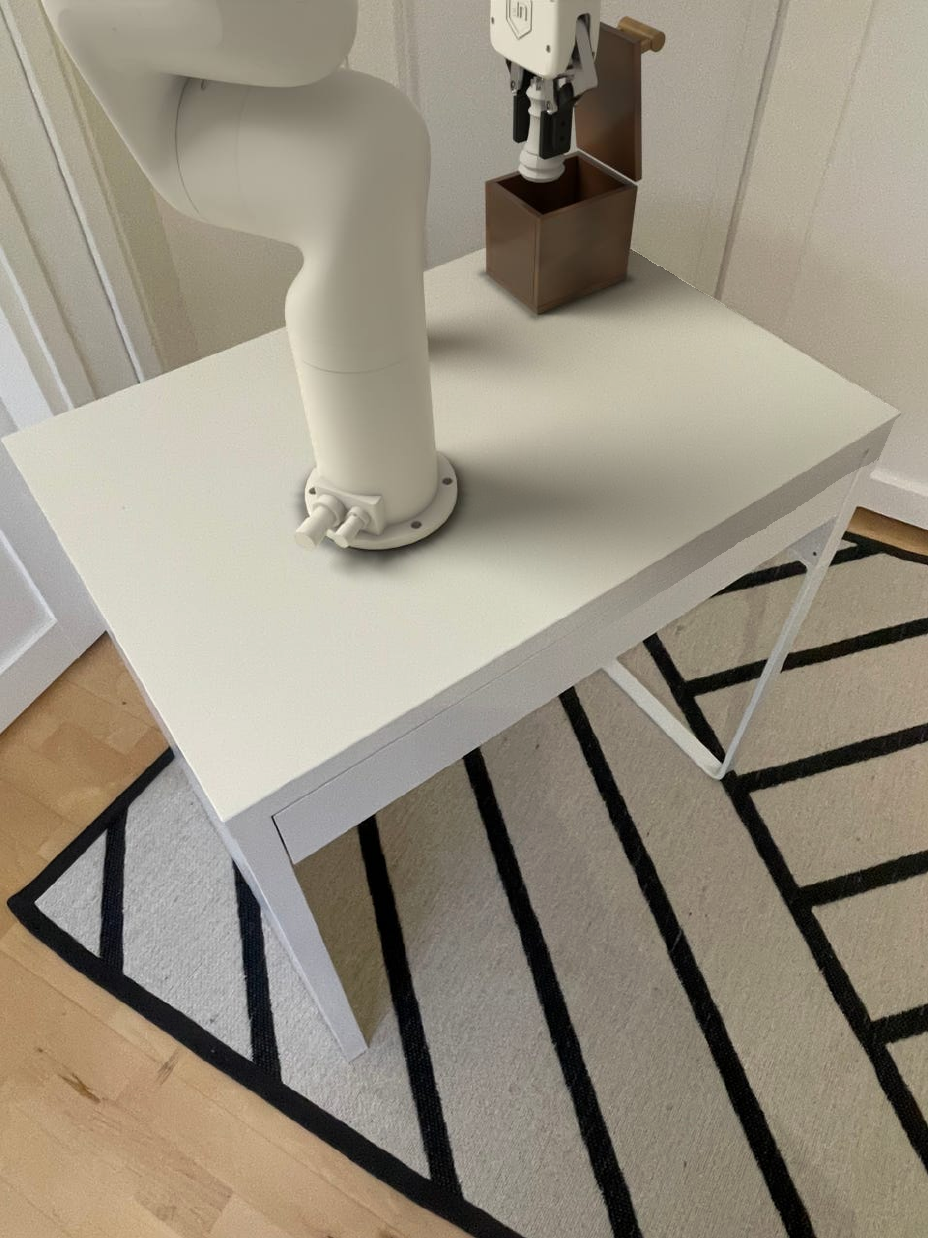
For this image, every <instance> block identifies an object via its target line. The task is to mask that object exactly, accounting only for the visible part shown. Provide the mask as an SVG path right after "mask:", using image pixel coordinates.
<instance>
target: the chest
mask: <svg viewBox="0 0 928 1238" xmlns="http://www.w3.org/2000/svg"><path fill="white" fill-rule="evenodd" d="M564 156H565V158H564V162H563V165H564V166H565V169H564V172H563V173H562V174H561V176H560V177H559V178H558V179H556V180H553V181H550V182H533V181H529V180H527V179H525V178H524V177H523V176H522V174H521V173H520V171H519V170H515V171H513V172H510V173H507V174H504V175H501V176H497V177H494V178H492V179H491V178H490V179H489V180H485V182H484V193H485V194H484V197H485V198H484V201H485V203H484V205H485V273H486V275H487V276H489V278H491V279H492V280H494V281H495V282H496V283H497V284H499V285H500V286H501V287H502V288H503V289H505V290H506V291H507V292H508V293H510V294H511V295H512V296H514V298H516V299H517V300H518V301H520V302H521V303H522V304H523V305H525V306H526V307H527V308H528V309H530V310H531V311H532V312H533V313H535V314H536V315H539V314H542V313H545V312H547V311H550V310H552V309H555V308H558V307H560V306H563V305H565V304H568V303H570V302H573V301H575V300H577V299H580V298H583V297H585V296H588V295H591V294H593V293H595V292H598V291H600V290H603V289H605V288H608V287H610V286H613V285H615V284H618V283H621V282H622V281H625V280H627V277H628V268H629V261H630V253H631V246H632V238H633V228H634V222H635V214H636V207H637V206H636V205H637V197H638V190H639V189H638V188H639V186H638V185H637V184H635V182H633V181H632V180H630V179H628V178H627V177H625V176H623V175H622V174H620V173H618V172H617V171H615V170H612V168H610V167H608V166H607V165H605V164H602V162H600V161H598V160H597V159H595V158H593V157H592V156H590V155H588V154H587V153H585V152H583V151H581V150H577V151H573V152H570V153H566V154H564Z"/></svg>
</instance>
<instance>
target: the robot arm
mask: <svg viewBox="0 0 928 1238" xmlns="http://www.w3.org/2000/svg"><path fill="white" fill-rule="evenodd" d="M40 1H41V4H42V7H43V10H44V11H45V14H46V16H47V18H48V20H49V22H50V24H51V25H52V28H53V30H54V31H55V33H56V35H57V37H58V38H59V40H60V42H61V44H62V46H63V47H64V48H65V50H66V52H67V54H68V56H69V57H70V59H71V61H72V63H74V65H75V67H76V69H77V70H78V71H79V73H80V75H81V77H82V78H83V79H84V81H85V83H86V84H87V86H88V88H89V90H90V91H91V92H92V94H93V96H94V97H95V99H96V100H97V102H98V103H99V105H100V106H101V108H102V110H103V112H104V113H105V114H106V116H107V117H108V119H109V121H110V122H111V124H112V125H113V128H115V130H116V132H117V133H118V135H119V136H120V138H121V139H122V141H123V143H124V144H125V146H126V148H127V149H128V150H129V152H130V154H131V155H132V156H133V158H134V160H135V162H136V163H137V165H138V166H139V168H140V169H141V171H142V172H143V175H145V177H146V178H147V180H148V181H149V183H150V184H151V185H152V186H153V187H154V189H155V190H156V191H157V193H159V195H160V196H161V197H162V199H164V200H165V201H166V202H167V203H168V204H169V205H170V206H171V207H172V208H174V209H175V211H177V212H179V213H181V214H182V215H184V216H186V217H188V218H190V219H192V220H195V221H197V222H201V223H204V224H208V225H210V226H215V227H218V228H222V229H228V230H231V231H236V232H240V233H245V234H250V235H255V236H259V237H264V238H268V239H271V240H274V241H278V242H282V243H285V244H288V245H289V244H290V245H291V246H294V247H296V248H297V249H298V250H300V252H301V254H302V257H303V265H302V267H301V268H300V270H299V272H298V273H297V274H296V275H295V277H294V279H293V281H292V282H291V284H290V286H289V288H288V291H287V293H286V297H285V301H284V302H285V303H284V319H285V326H286V332H287V336H288V341H289V345H290V349H291V354H292V358H293V362H294V366H295V371H296V376H297V380H298V385H299V389H300V394H301V399H302V403H303V407H304V412H305V417H306V422H307V426H308V430H309V431H308V432H309V435H310V440H311V444H312V448H313V453H314V458H315V463H316V466H315V467H314V469H313V470H312V471H311V473H310V475H309V477H308V478H307V481H306V485H305V488H304V501H305V506H306V510H307V513H308V517H306V518H305V520H304V521H303V522H302V523H301V525H299V527H298V528H297V530H295V532H294V533H293V535H292V537H293V540H294V542H295V543H296V544H297V546H299V547H300V548H301V549H302V550H305V551H309V552H313V551H314V550H315V549H316V548H317V547H318V546H319V545H320V543H321V542H322V541H323V540H324V538H325V537H327V538H329V539H331V540H332V541H333V542H334V543H335V544H336V545H337V546H339V547H340V548H343V549H347V548H348V547H351V548H356V549H363V550H388V549H395V548H399V547H403V546H406V545H407V546H408V545H410V544H413V543H415V542H417V541H418V542H419V540H422V539H424V538H426V537H428V536H430V535H431V534H432V533H434V532H436V531H437V530H438V529H439V528H440V527H441V526H442V525H443V524H444V523H446V521H447V520H448V518H449V517H450V516H451V514H452V513H453V511H454V508H455V506H456V503H457V499H458V479H457V476H456V472H455V469H454V467H453V466H452V464H451V463H450V461H449V460H448V459H447V458H446V457H445V455H443V454H442V453H441V452H439V450H437V449H436V448H437V447H436V435H435V421H434V406H433V394H432V393H433V392H432V378H431V368H430V367H431V365H430V353H429V352H430V351H429V350H430V349H429V339H428V328H427V314H426V301H425V299H426V298H425V281H424V252H425V251H424V250H425V233H426V232H425V231H426V230H425V229H426V228H425V227H426V220H427V219H426V218H427V209H428V201H429V192H430V185H431V184H430V183H431V170H432V149H431V147H432V146H431V138H430V132H429V129H428V126H427V123H426V120H425V118H424V116H423V114H422V112H421V110H420V108H418V106H417V104H416V103H415V102H414V101H413V100H412V99H411V98H410V97H409V96H408V95H407V94H406V93H405V92H404V91H403V90H401V89H400V88H399V87H397V86H395V85H394V84H393V83H391V82H389V81H387V80H385V79H383V78H380V77H378V76H375V75H372V74H369V73H366V72H363V71H358V70H354V69H350V68H345V67H341V66H342V64H343V63H344V61H345V60H346V58H347V57H348V55H349V54H350V53H351V50H352V48H353V45H354V43H355V39H356V35H357V30H358V29H357V28H358V18H359V17H358V16H359V0H40ZM601 8H602V0H490V11H489V12H490V13H489V14H490V16H489V17H490V18H489V23H490V24H489V30H490V32H489V37H490V43H491V47H493V49H494V51H495V52H496V53H497V54H499V55H500V56H501V57H503V58H504V60H505V64H506V68H507V69H508V72H509V75H510V78H509V89H510V91H511V93H512V94H513V97H512V98H513V100H512V101H513V103H512V104H513V106H512V108H513V109H512V115H513V116H512V141H513V142H515V143H516V144H522V143H524V142H525V143H526V142H527V139H528V135H529V128H530V113H529V112H528V110H529V108H530V107H531V100H530V99H529V97H528V96H527V94H526V92H527V90H528V88H529V87H530V85H531V79H534V77H535V76H539V77H540V78H539V81H543V78H544V83H545V108H546V110H544V111H541V115H540V139H539V156H540V158H542V159H544V160H546V159H549V158H552V157H556V156H559V155H562V154H564V155H566V154H568V153H569V152H570V150H571V149H572V148H571V147H572V131H573V116H574V107H576V106H577V105H578V100H579V99H580V98H581V97H582V96H583V94H585V93H587V92H589V91H591V90H593V89H595V88H596V87H597V84H598V81H597V76H596V71H595V66H594V61H595V58H596V53H597V46H598V38H599V26H600V21H601V10H602V9H601ZM561 79H564V83H563V84H562V85H561V86H560V89H559V90H558V85H557V80H559V81H560V80H561Z"/></svg>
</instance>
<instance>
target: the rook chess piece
mask: <svg viewBox="0 0 928 1238" xmlns="http://www.w3.org/2000/svg"><path fill="white" fill-rule="evenodd" d="M539 78H540V77H539V76H535V77H534V79H531V85H530V87H529V88H528V90H527V92H526V94H527V96H528V97H529V99H530V100H531V107H530V108H529V110H528V112H529V113H530V128H529V135H528V139H527V141H525V143H524V145H523V149H522V150H521V151H520V154H519V159H518V161H519V162H520V164H519V165H518V169H517V171H520V173H521V174H522V176H523V177H524V178H525V179H527V180H529V181H533V182H550V181H553V180H556V179H558V178H559V177H560V176H561V174H562V173H563V172H564V169H565V166H564V165H563V162H564V158H565V156H564V155H565V154H562V155H559V156H556V157H552V158H549V159H546V160H544V159H542V158H540V156H539V139H540V115H541V111H544V110H546V108H545V83H544V78H542V81H539ZM557 85H558V90H559V89H560V88H561V86H560V79H559V80H557Z"/></svg>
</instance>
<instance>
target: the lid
mask: <svg viewBox="0 0 928 1238" xmlns="http://www.w3.org/2000/svg"><path fill="white" fill-rule="evenodd" d="M666 38H667V36H666V34H665V32H664V31H662V30H660V29H658V28H655V27H652V26H650V25H647V24H646V23H643V22H641V21H639V20H637V19H634V18H632V17H630V16H623V17H621V19H620V20H619V21H618V22H617V26H616V27H614V26H613V25H609V24H607V23H605V22H603V21H601V20H600V26H599V38H598V46H597V53H596V58H595V61H594V66H595V71H596V76H597V81H598V84H597V87H596V88H595V89H593V90H591V91H589V92H587V93H585V94H583V96H582V97H581V98H580V99H579V100H578V105H577V106H576V107H574V108H573V116H574V130H575V143H576V148H577V149H579V151H581V152H583V153H585V154H586V155H588V156H590V157H591V158H593V159H595V160H596V161H598V162H600V163H601V164H602V163H603V165H605V166H606V167H608V168H610V169H611V170H612V169H613V171H615V172H616V173H618V174H620V175H621V176H623V177H625V178H626V179H628V180H630V181H631V182H633V183H638V182H640V181H642V179H643V141H642V140H643V129H642V128H643V124H642V122H643V120H642V119H643V118H642V114H643V112H642V111H643V109H642V108H643V107H642V55H643V54H645V53H647V52H648V51H651V52H653V53H658V52H660V51H662V49H663V48H664V46H665V44H666V40H667V39H666Z"/></svg>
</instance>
